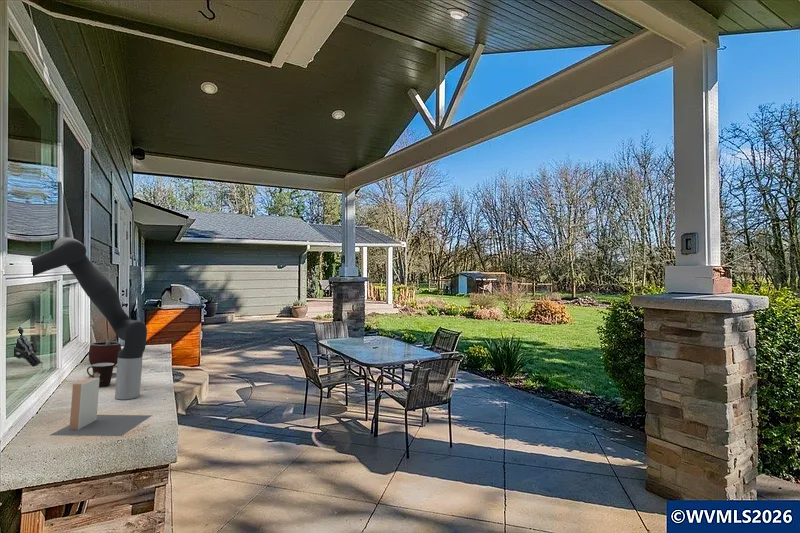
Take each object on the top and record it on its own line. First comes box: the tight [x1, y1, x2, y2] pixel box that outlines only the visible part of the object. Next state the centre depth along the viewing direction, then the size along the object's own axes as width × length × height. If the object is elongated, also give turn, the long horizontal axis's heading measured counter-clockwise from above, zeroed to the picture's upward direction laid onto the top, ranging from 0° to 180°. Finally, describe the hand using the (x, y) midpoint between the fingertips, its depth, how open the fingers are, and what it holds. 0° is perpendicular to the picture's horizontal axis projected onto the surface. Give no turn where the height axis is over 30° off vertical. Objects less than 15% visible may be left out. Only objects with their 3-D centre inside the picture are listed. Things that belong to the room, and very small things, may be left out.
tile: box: [69, 377, 100, 429], centre depth 151 cm, size 10×3×15 cm, turn 6°
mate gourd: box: [88, 339, 122, 379], centre depth 223 cm, size 16×14×20 cm
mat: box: [49, 414, 153, 437], centre depth 152 cm, size 22×22×1 cm
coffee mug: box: [86, 363, 115, 388], centre depth 206 cm, size 12×9×10 cm
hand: (37, 364), depth 150 cm, fingers closed
